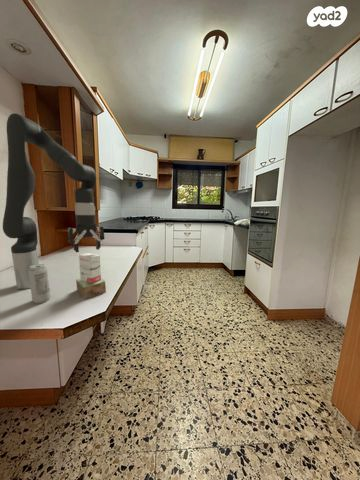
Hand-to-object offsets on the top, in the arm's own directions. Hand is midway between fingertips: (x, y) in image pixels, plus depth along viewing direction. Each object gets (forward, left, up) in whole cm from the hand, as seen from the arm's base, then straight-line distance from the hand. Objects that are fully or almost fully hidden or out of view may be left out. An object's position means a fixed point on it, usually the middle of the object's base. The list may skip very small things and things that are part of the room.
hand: (87, 250), depth 83 cm
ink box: (0, 0, -14) cm, 14 cm away
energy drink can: (-18, +5, -20) cm, 27 cm away
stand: (0, 0, -19) cm, 19 cm away
